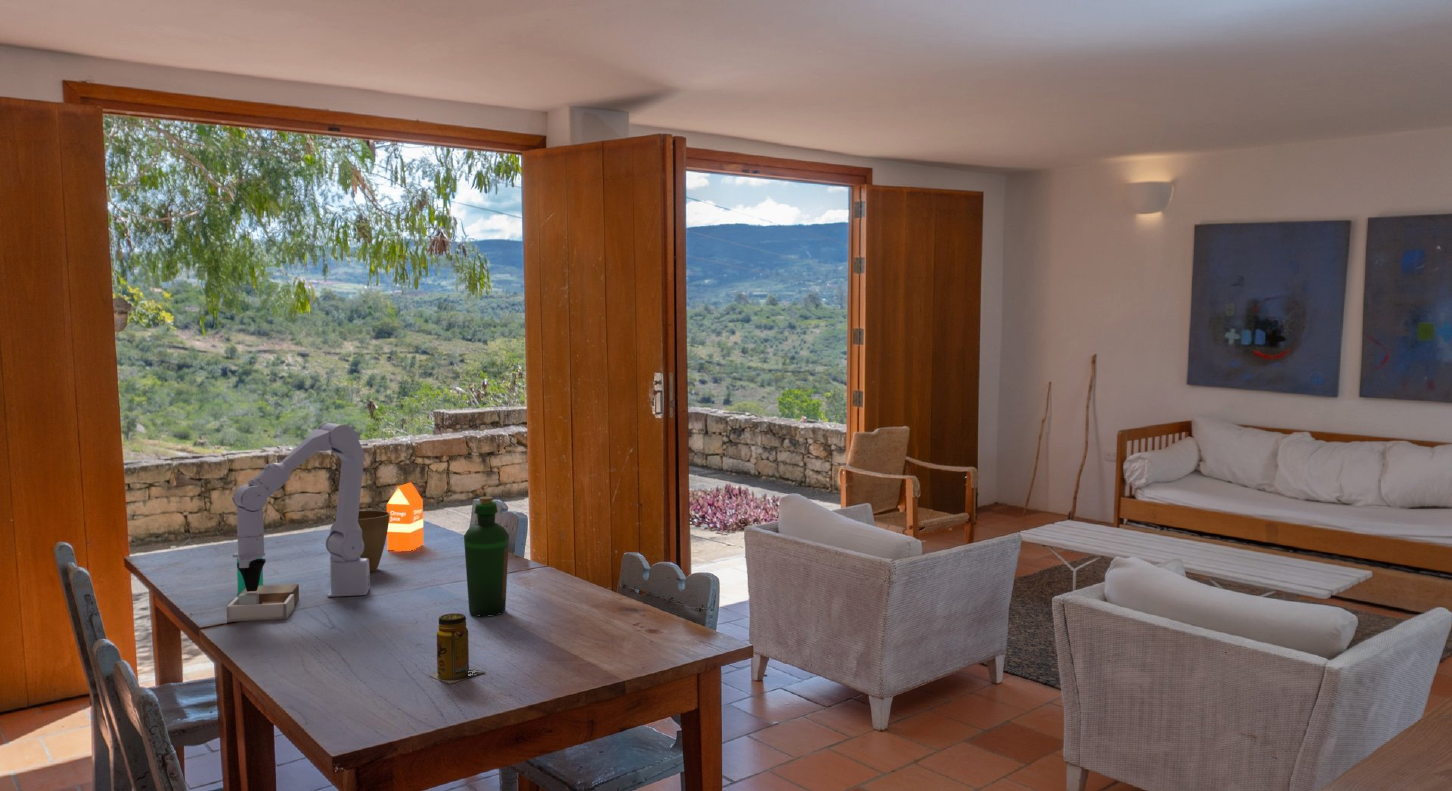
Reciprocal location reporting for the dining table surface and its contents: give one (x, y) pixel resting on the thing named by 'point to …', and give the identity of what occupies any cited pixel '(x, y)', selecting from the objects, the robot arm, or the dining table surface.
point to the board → (276, 593)
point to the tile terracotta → (271, 602)
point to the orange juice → (405, 519)
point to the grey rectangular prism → (248, 598)
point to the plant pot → (373, 535)
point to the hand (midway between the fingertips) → (252, 590)
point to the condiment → (452, 649)
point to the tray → (259, 610)
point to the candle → (241, 581)
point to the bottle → (486, 561)
